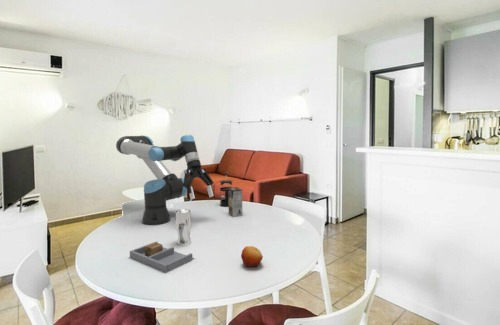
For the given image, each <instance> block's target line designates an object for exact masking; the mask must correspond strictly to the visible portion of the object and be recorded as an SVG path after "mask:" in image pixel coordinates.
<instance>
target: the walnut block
mask: <svg viewBox="0 0 500 325" xmlns="http://www.w3.org/2000/svg"><path fill="white" fill-rule="evenodd" d="M156 242H157V241H154V243H153V242H151V243H148V244H146V245H144V246H145V256H148V257H149V256H151V255H154V254H156V253H159V252H161V251H163V244H162V243H159V242H158V243H156Z"/></svg>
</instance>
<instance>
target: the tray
mask: <svg viewBox="0 0 500 325" xmlns="http://www.w3.org/2000/svg"><path fill="white" fill-rule="evenodd" d="M154 242H156V243H159V242H158V241H154ZM154 242H152V243H154ZM129 258H131V259H134V260H136V261H137V262H140V263H142V264H145V265H146V266H149V267H151V268H153V269H157V270H159V271H161V272H163V273H166V274H168V273H169V272H171V271H173V270H175V269H177V268H180V267H182V266H183V265H185V264H187V263H189V262H192V261H193V260H196V258H195V257H193V253H191V252H190V253H188V254H183V253H181V252H178V251H175V247H173V246H170V247H169V248H166V247H163V251H161V252H159V253H156V254H154V255H151V256H149V257H148V256H145V245H142V246H140V247H137V248H134V249H132V250H129Z"/></svg>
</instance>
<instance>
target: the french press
mask: <svg viewBox="0 0 500 325" xmlns="http://www.w3.org/2000/svg"><path fill="white" fill-rule="evenodd" d="M223 174H225V176H227V174H230V173H229V172H228V171H226V172H223ZM233 182H234V181H233V180H232V179H231V180H229V179H222V180H219V183H220V185H221V186H222V187H220V188H219V192H224V194H223V195H219V197H220V198H219V201H220V202H219V203H220V204H219V206H220V207H222V208H229V207H228V188H233V187H232V186H228V185H227V184H229V185H233ZM224 184H225V186H224V187H223V185H224Z"/></svg>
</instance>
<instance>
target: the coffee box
mask: <svg viewBox="0 0 500 325" xmlns="http://www.w3.org/2000/svg"><path fill="white" fill-rule="evenodd" d="M227 208H228V214H229V215H230V216H231V217H233V218H235V217H243V189H241V188H239V187H238V186H237V187H232V188H228V207H227Z"/></svg>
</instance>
